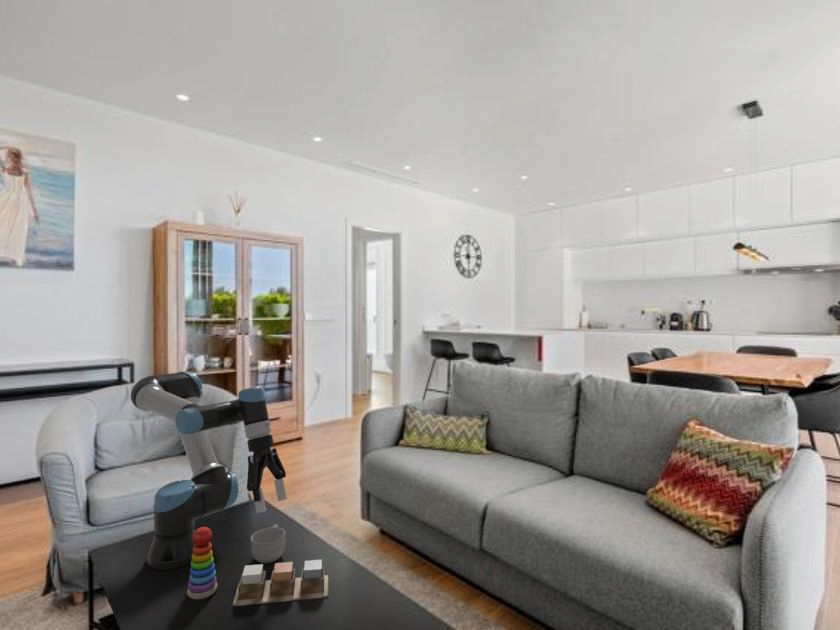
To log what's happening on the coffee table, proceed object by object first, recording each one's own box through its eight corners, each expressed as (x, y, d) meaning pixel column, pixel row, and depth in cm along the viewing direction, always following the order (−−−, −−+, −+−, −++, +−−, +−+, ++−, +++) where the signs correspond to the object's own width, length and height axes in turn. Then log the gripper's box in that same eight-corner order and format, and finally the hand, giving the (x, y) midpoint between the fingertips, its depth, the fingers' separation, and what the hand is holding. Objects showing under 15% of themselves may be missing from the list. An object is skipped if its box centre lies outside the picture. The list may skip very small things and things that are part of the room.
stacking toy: (223, 586, 140) (224, 523, 139) (205, 603, 132) (206, 537, 131) (199, 581, 141) (200, 520, 140) (180, 598, 133) (181, 533, 133)
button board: (232, 606, 131) (232, 590, 131) (239, 584, 141) (239, 569, 140) (328, 597, 136) (328, 581, 136) (328, 576, 146) (328, 562, 146)
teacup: (274, 569, 149) (275, 544, 148) (243, 564, 151) (244, 540, 150) (295, 547, 162) (295, 524, 162) (266, 542, 164) (266, 520, 164)
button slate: (303, 583, 137) (304, 570, 137) (304, 573, 142) (304, 560, 142) (321, 582, 138) (321, 568, 138) (321, 572, 143) (321, 559, 143)
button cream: (241, 589, 134) (242, 575, 133) (244, 578, 138) (245, 565, 138) (260, 587, 134) (260, 574, 134) (262, 577, 139) (262, 564, 139)
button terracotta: (273, 586, 135) (273, 573, 135) (275, 576, 140) (275, 563, 140) (291, 585, 136) (291, 571, 136) (292, 574, 141) (292, 561, 141)
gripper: (249, 439, 135) (263, 515, 132) (287, 429, 160) (300, 493, 156) (225, 445, 136) (239, 520, 133) (267, 434, 161) (279, 497, 157)
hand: (272, 505), depth 145 cm, fingers open, 13 cm apart
